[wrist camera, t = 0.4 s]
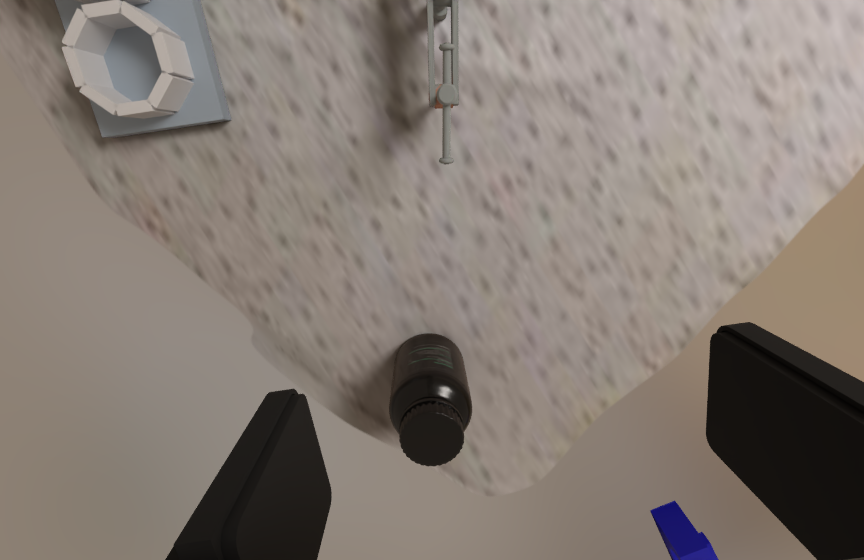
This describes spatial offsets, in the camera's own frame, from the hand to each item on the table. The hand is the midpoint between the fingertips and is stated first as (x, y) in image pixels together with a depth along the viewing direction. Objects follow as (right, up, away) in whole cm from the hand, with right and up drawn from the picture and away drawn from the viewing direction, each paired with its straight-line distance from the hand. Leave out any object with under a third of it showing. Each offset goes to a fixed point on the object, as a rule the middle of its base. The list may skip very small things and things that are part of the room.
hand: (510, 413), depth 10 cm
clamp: (-1, +21, +26) cm, 33 cm away
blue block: (+28, -28, +41) cm, 57 cm away
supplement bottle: (-2, -5, +33) cm, 34 cm away
